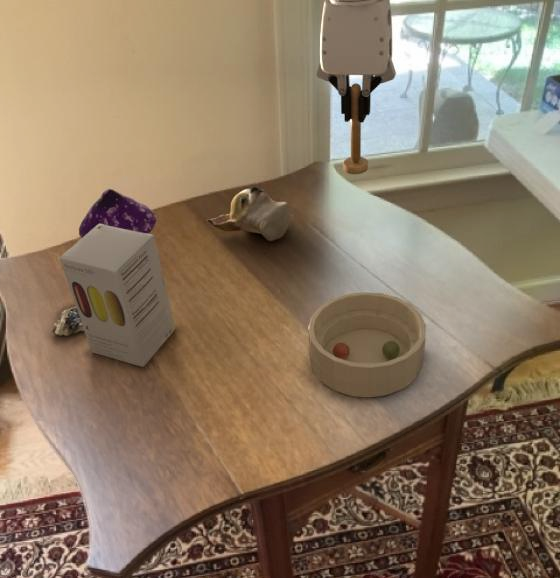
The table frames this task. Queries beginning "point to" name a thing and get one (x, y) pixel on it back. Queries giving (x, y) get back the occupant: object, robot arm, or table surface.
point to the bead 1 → (341, 350)
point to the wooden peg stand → (355, 137)
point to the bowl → (366, 343)
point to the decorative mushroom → (118, 214)
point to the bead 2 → (390, 349)
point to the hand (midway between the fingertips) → (355, 117)
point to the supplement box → (119, 293)
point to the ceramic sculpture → (255, 215)
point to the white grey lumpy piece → (68, 322)
